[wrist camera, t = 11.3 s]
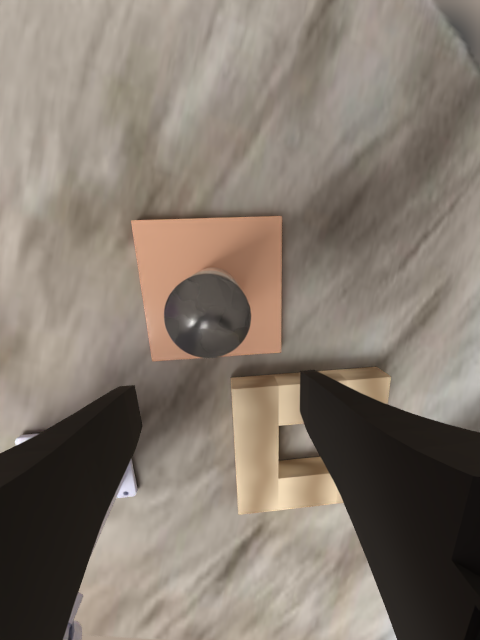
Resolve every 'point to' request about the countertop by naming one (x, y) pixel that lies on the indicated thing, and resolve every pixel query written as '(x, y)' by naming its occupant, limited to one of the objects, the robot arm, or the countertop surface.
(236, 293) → the glass jar
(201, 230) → the coaster
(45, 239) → the countertop surface
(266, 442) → the bore block
